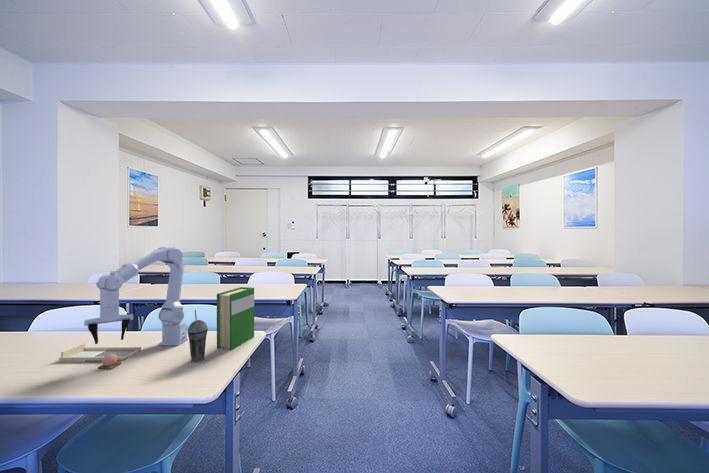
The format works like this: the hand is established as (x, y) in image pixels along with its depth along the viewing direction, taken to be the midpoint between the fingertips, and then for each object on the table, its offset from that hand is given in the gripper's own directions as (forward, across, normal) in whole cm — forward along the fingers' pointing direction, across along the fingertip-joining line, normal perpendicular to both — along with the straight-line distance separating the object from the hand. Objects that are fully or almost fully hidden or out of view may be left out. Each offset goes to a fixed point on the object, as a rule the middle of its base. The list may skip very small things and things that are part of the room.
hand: (109, 341), depth 115 cm
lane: (+9, +3, -11) cm, 14 cm away
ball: (+6, 0, +3) cm, 7 cm away
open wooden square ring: (+9, 0, +3) cm, 9 cm away
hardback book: (+9, -46, +5) cm, 47 cm away
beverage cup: (+9, -28, +16) cm, 34 cm away
